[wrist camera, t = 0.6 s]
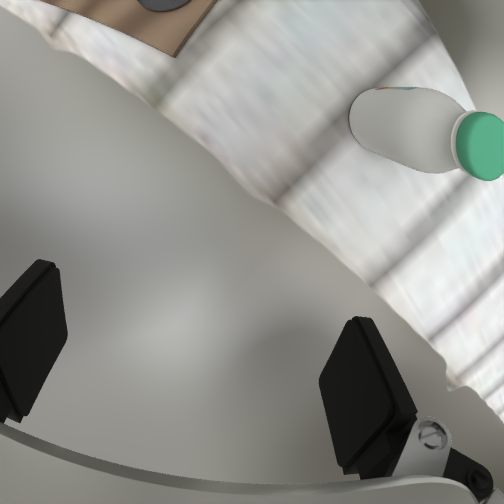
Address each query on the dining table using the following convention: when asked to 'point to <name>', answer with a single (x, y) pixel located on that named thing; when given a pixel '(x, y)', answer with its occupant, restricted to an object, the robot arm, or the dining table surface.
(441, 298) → the dining table surface
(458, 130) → the milk bottle
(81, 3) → the board
